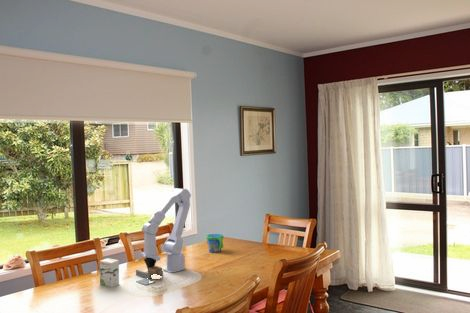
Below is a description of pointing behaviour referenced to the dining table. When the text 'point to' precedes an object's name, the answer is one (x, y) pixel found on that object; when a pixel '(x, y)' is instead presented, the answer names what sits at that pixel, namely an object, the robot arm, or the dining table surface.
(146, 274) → the channel
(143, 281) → the pad
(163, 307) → the dining table surface
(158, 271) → the walnut block
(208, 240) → the snack cup
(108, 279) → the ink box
